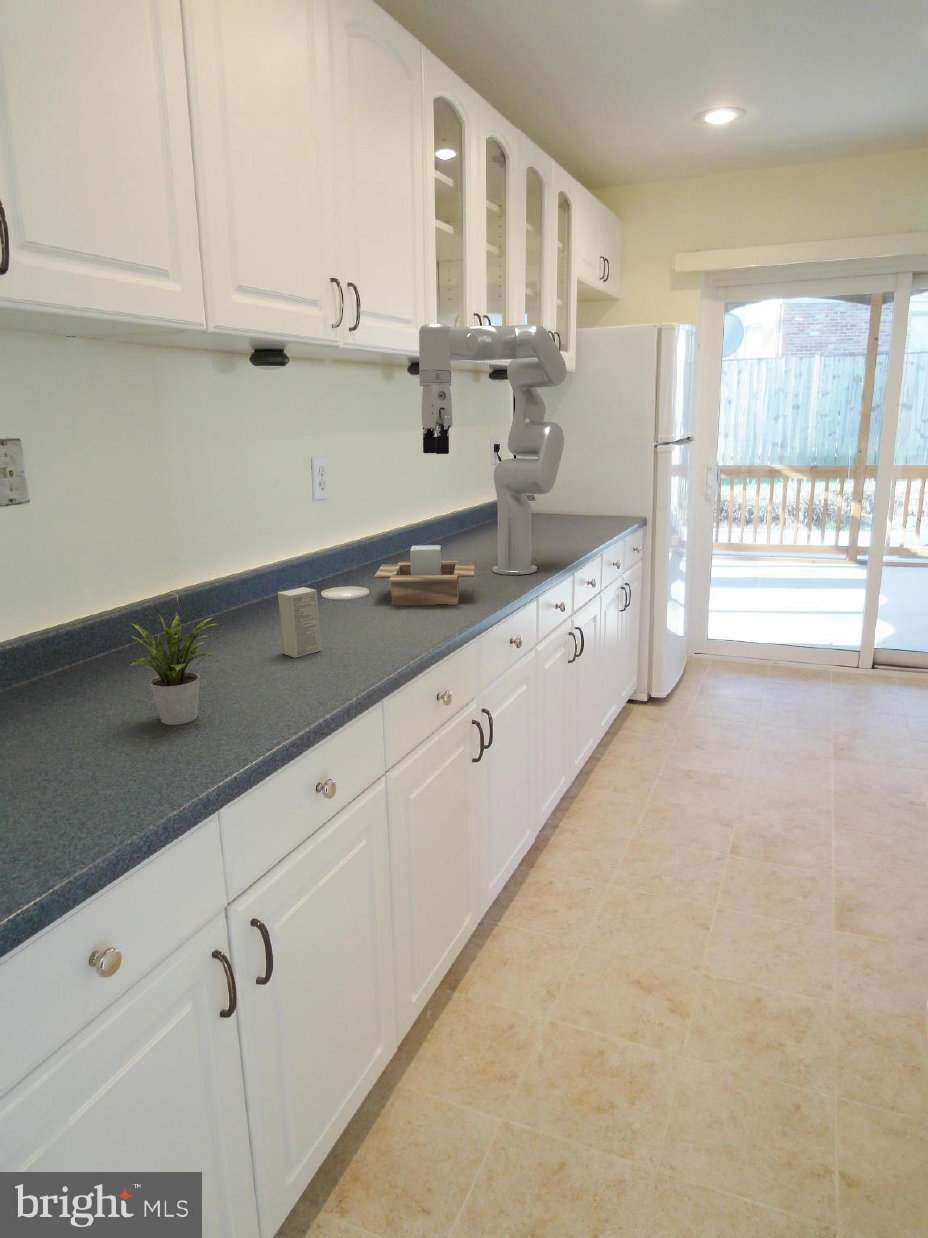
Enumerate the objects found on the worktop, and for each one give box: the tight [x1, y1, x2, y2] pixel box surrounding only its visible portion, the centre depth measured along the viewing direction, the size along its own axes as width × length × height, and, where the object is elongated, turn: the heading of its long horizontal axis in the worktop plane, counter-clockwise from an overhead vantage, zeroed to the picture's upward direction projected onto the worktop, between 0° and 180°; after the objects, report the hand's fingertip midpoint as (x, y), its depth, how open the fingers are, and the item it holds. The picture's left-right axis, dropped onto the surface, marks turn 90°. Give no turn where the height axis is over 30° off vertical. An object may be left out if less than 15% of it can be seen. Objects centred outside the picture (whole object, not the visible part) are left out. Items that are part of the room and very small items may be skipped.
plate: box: [320, 585, 370, 601], centre depth 205 cm, size 12×12×1 cm
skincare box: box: [277, 586, 322, 659], centre depth 153 cm, size 6×4×12 cm
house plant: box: [129, 611, 219, 726], centre depth 119 cm, size 14×14×16 cm
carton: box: [373, 560, 476, 606], centre depth 199 cm, size 24×24×7 cm
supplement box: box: [409, 544, 442, 575], centre depth 198 cm, size 7×7×13 cm
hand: (435, 453), depth 195 cm, fingers open, 9 cm apart
